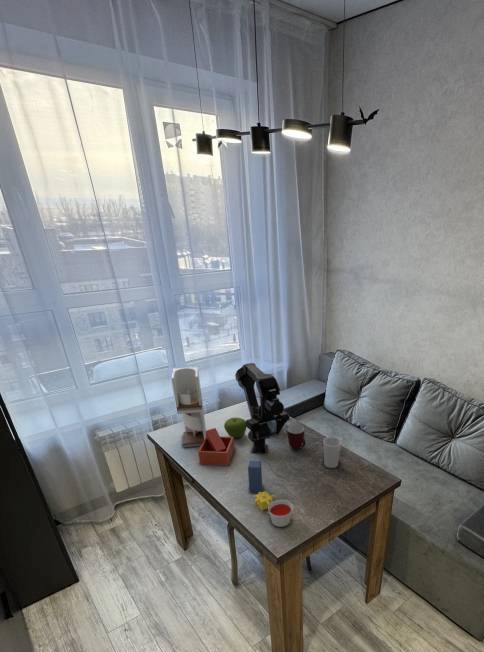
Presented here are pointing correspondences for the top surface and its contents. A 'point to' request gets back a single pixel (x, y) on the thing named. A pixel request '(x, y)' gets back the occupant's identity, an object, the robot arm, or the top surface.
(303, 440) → the mug
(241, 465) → the top surface
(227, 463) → the red bin
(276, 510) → the candle
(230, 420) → the apple
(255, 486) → the blue block
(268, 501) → the toy block
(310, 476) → the top surface
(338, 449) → the cup
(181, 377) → the arched white lantern
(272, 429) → the mug
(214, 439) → the red block
